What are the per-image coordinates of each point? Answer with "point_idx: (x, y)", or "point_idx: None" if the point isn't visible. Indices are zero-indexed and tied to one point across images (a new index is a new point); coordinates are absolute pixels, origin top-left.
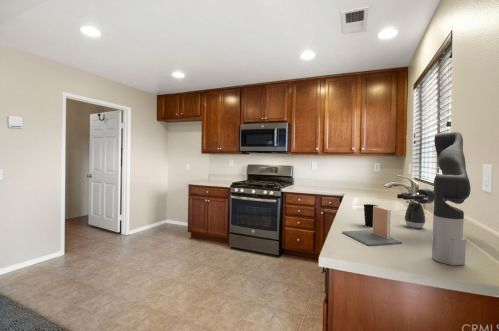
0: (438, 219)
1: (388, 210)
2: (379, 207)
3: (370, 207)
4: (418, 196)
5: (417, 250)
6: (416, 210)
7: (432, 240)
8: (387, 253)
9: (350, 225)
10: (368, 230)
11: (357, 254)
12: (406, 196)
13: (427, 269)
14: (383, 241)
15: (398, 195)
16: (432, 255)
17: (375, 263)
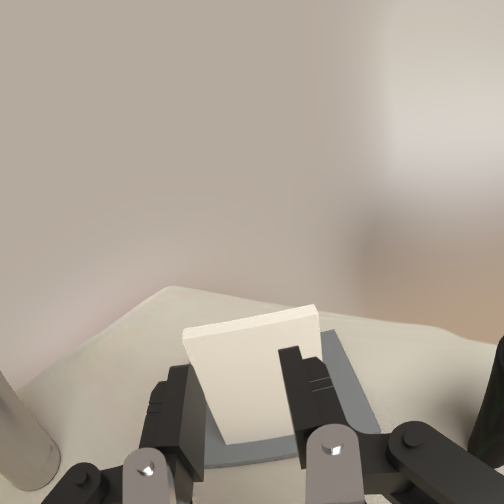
0: None
1: (184, 332)
2: (261, 316)
3: (495, 356)
4: (56, 497)
5: (108, 464)
6: None
7: (27, 410)
8: (131, 375)
9: (462, 369)
10: (364, 412)
11: (156, 324)
12: (155, 387)
13: (44, 390)
14: None
15: (279, 359)
16: (50, 438)
17: (110, 334)
